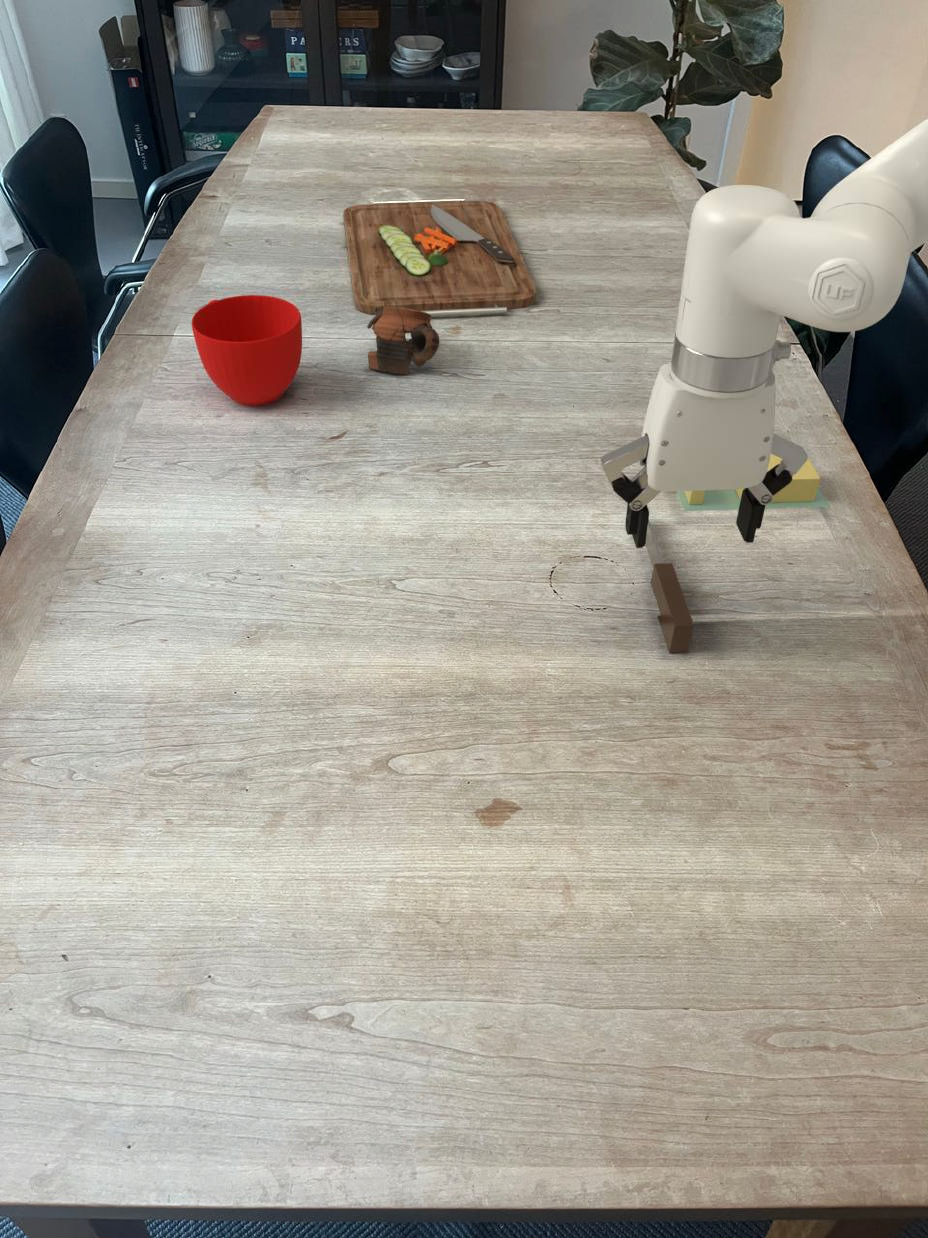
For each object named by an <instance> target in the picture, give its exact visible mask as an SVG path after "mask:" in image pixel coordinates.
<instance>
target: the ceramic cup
mask: <svg viewBox="0 0 928 1238" xmlns="http://www.w3.org/2000/svg"><path fill="white" fill-rule="evenodd" d="M302 325H303V323H302V314H301V312H300V310H299V309H298V307H297V306H296V305H295V304H293V303H292V302H290V301H289V300H285V299H283V298H280V297H275V296H271V295H270V296H269V295H262V294H246V295H244V294H243V295H236V296H230V297H225V298H221V299H212V300H210V301H209V302H208V303H207V304H206V305H204V306H202V307H200V308H199V309H198V310H197V311H196V312H195V313H194V315H193V316H192V319H191V329H192V334H193V339H194V343H195V345H196V349H197V352H198V355H199V358H200V360H201V364H202V366H203V368H204V370H205V373H207V375H208V377H209V378H210V380H211V381H212V382H213V383H214V385H215V386H216V387H217V388H218V389H219V390H220V391H221V392H223V394H225V395H227V396H228V397H229V398H231V400H232V401H234V402H235V403H238V404H240V405H243V406H251V407H252V406H263V405H269V404H271V403H274V402H276V401H277V400H279V399H280V398H281V397H282V396H283V394H284V393H285V391H287V389H288V388H289V387H290V385H291V384H292V383H293V382H294V380H295V377H296V376H297V373H298V370H299V367H300V364H301V359H302V352H303V326H302Z"/></svg>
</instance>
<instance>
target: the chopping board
mask: <svg viewBox="0 0 928 1238" xmlns="http://www.w3.org/2000/svg"><path fill="white" fill-rule="evenodd" d="M342 215H343V225H344V234H345V241H346V249H347V257H348V264H349V265H348V266H349V271H350V272H349V273H350V280H351V288H352V296H353V297H352V298H353V303H354V304H353V305H354V307H355V309H356V310H357V311H359V312H360V313H364V314H369V315H376V313H377V312H376V311H375V309H376V307H381V306H385V307H396V308H407V309H413V310H418V311H422V312H426V313H428V314H430V315H431V316H432V317H445V316H447V317H448V316H467V315H468V316H469V315H488V314H489V315H490V314H491V315H492V314H508V309H520V308H527V307H529V306H532V305H534V303H536V301H537V287H536V285H535V283H534V281H533V279H532V276H531V274H530V272H529V270H528V267H527V265H526V263H525V261H524V258H523V257H522V255H521V251H520V250H519V248H518V245H517V243H516V241H515V239H514V237H513V233H512V232H511V230H510V228H509V225H508V223H507V221H506V218H505V216H504V214H503V212H502V210H501V208H500V206H499V205H498V204H497V203H494V202H492V201H485V200H466V199H465V198H464V197H461V198H457V197H456V198H431V199H430V198H429V199H428V198H427V199H401V200H400V199H399V200H398V199H397V200H374V201H372V204H370V203H369V204H356V205H350V206H348V207H346V208H345V209H344V210H343V212H342Z"/></svg>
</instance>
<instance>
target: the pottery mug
mask: <svg viewBox="0 0 928 1238" xmlns="http://www.w3.org/2000/svg"><path fill="white" fill-rule="evenodd" d="M375 311H376V312H377V313H376V314H375V316H374V317H372V318H371V319H370V320H369V322H368V323H367V326H366V327H367V329H368V330H369V329H371V330H372V331H373V334H374V335H375V336H376V337H375V341H376V342H375V343H376V350H370V351H368V352H367V360H368V368H369V369H370V370H374V371H375V370H377V371H384V372H386V373H390V374H399V375H409V372H410V367H411V363H413V364H414V365H415V366H416V367H418V368H420V367H422V366H424V365H426V363H427V362H428V361H430V360H432V359H433V358H434V356H435V355H436V353H437V352H438V349H439V347H440V336H439V334H438V332H437V331H436V329H434V328H433V325H432V324H431V321H432V320H431V319H433V318H432V317H433V316H431V315H430V314H428V313H426V312H422V311H418V310H413V309H407V308H396V307H385V306H381V307H376V309H375ZM406 334H410V339H408V340H407V338H406Z"/></svg>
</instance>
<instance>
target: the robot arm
mask: <svg viewBox="0 0 928 1238" xmlns="http://www.w3.org/2000/svg"><path fill="white" fill-rule="evenodd" d="M926 243H928V118H927V119H925V120H923V121H921V122H920V123H919V124H918V125H916V126H914V127H913V128H911V129H910V130H909V131H907V132H906V133H904V134H903V135H902V136H900V137H899V138H898V139H896V140H895V141H893V142H892V143H891V144H889V145H887V146H886V147H885V148H884V149H882V150H881V151H879V152H878V153H876V154H875V155H874V156H872V157H871V158H870V159H868V160H867V161H865V162H864V163H863V164H861V165H860V166H859V167H857V168H856V169H855V170H853V171H852V172H851V173H848V175H846V176H845V177H844V178H843V179H842V180H840V181H839V182H838V183H837V184H835V185H834V186H833V187H832V188H831V189H830V190H829V191H828V192H827V193H826V194H825V195H824V196H823V197H822V199H820V201H819V202H818V203H817V205H816V207H815V208H814V210H813V212H812V214H811V216H810V217H805V218H804V217H802V216H801V214H800V209H799V207H798V205H797V203H796V201H794V200H793V198H791V197H790V196H789V195H788V194H786V193H784V192H782V191H780V190H778V189H777V190H776V189H774V188H772V187H771V188H770V187H767V186H761V185H753V184H731V185H725V186H720V187H716V188H713V189H711V190H709V191H708V192H706V193H704V194H703V195H702V196H701V197H700V198H699V199H698V200H697V202H696V204H695V205H694V207H693V209H692V213H691V217H690V223H689V231H688V238H687V245H686V253H685V260H684V267H683V274H682V281H681V289H680V296H679V304H678V312H677V317H676V326H675V332H674V340H673V349H672V354H671V362H668V363H664V364H662V365H661V366H660V368H659V370H658V373H657V375H656V378H655V381H654V383H653V387H652V390H651V394H650V398H649V401H648V405H647V409H646V412H645V418H644V420H643V421H644V422H643V426H642V432H641V436H640V437H639V438H637V439H635V440H633V441H631V442H629V443H626V444H625V445H623V446H621V447H618V448H616V449H614V450H612V451H610V452H607V453H605V454H603V455H602V456H601V457H600V464H601V467H602V470H603V473H604V474H605V476H606V478H607V480H608V482H609V485H610V486H611V487H612V490H613V492H614V493H615V494H616V495H617V496H618V497H620V498H621V499H622V501H624V502H626V503H627V505H626V514H625V523H624V524H625V525H624V526H625V531H626V534H627V535H628V536H631V535H632V536H631V537H632V538H633V542H634V545H635V548H636V549H643V548H644V547H646V544H645V542H646V535H647V527H648V520H649V521H650V509H649V507H648V504H649V503H650V502H651V501H652V500H654V499H655V498H656V497H657V496H658V495H659V494H660V493H661V492H662V493H677V492H682V491H705V490H726V489H743V488H745V489H744V490H743V491H742V496H741V501H740V506H739V510H737V516H736V521H735V524H736V527H737V530H738V531H739V533H740V535H741V538H742V540H743V541H744V542H745V543H747V544H749V543H750V544H751V543H754V541H755V537H756V533H757V530H759V529H761V527H762V523H763V520H764V514H765V511H766V509H765V506H766V505H767V504H770V503H771V502H772V501H773V496H774V495H775V494H776V493H778V492H779V491H780V490H782V489H783V488H784V487H786V486H787V485H788V484H790V483H791V481H792V476H793V475H794V474H796V473H797V472H798V471H799V469H800V468H801V467H802V466H803V465H804V463H805V462H806V461H807V459H808V458H809V456H808V454H807V452H806V451H805V449H804V447H803V446H801V445H799V444H797V443H795V442H792V441H790V440H788V439H787V438H784V437H782V436H780V435H777V434H775V422H776V421H775V420H776V399H777V397H776V396H777V395H776V391H777V390H776V388H777V387H776V376H775V374H774V371H773V368H774V365H775V363H776V362H779V361H781V360H789V359H790V357H791V354H792V345H791V342H790V341H782V340H780V339H777V336H778V332H779V328H780V327H779V326H780V323H781V318H782V316H783V317H786V318H788V319H791V320H793V321H796V322H798V323H801V324H804V325H807V326H810V327H812V328H817V329H819V330H824V331H828V332H834V333H852V332H857V331H861V330H865V329H867V328H869V327H872V326H873V325H875V324H877V323H878V322H879V321H881V320H882V319H883V318H885V317H886V316H887V314H889V313H890V311H891V310H892V309H893V308H894V306H895V305H896V303H897V301H898V299H899V297H900V295H901V294H902V289H903V286H904V283H905V280H906V279H905V278H906V274H907V270H908V266H909V262H910V257H911V253H913V252H914V251H915V250H916V249H918V248H920V247H922V246H923V245H924V244H926ZM771 454H773V455H775V456H777V457H780V458H782V460H781V461H780V462H781V463H780V464H778V465H776V466H775V467H773V468H772V469H771V470H769V471H768V472H767V469H768V465H769V460H770V455H771ZM637 462H639V466H641V467H642V466H643V467H642V469H640V470H639V471H638V472H637V473H636V474H635V475H634V476H633V477H631V479H630V478H629V477H628V476H627V475H626V474H624V473H623V470H624V469H625V468H627V467H629V466H632V465H633V464H635V463H637Z"/></svg>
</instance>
